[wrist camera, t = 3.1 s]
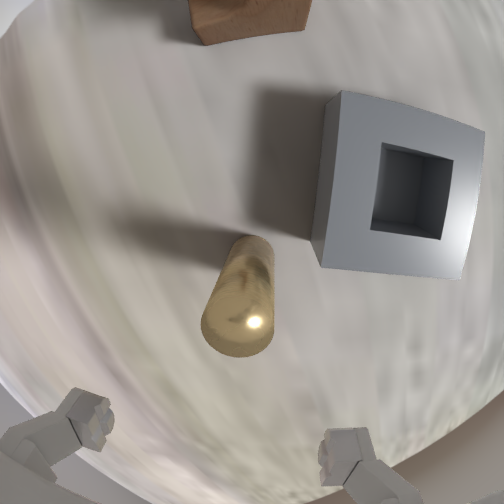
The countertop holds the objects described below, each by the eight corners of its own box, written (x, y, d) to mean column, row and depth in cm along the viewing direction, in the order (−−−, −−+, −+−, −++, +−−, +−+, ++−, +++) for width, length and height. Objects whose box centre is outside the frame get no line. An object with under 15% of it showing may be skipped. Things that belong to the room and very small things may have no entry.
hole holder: (445, 133, 23) (485, 131, 16) (426, 254, 26) (459, 280, 20) (325, 105, 23) (341, 90, 17) (310, 241, 27) (320, 267, 21)
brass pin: (276, 237, 27) (278, 299, 15) (271, 279, 28) (269, 360, 17) (231, 233, 27) (201, 291, 16) (228, 275, 28) (200, 352, 17)
